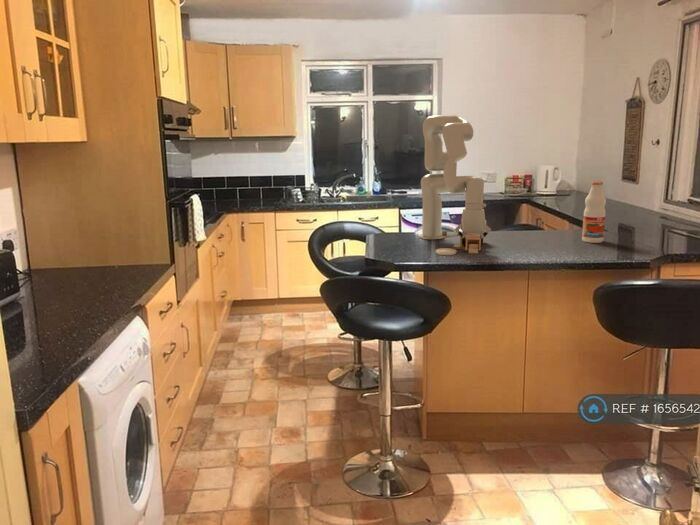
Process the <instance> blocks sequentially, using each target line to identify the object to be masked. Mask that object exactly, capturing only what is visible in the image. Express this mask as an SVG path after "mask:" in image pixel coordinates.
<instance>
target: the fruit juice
mask: <svg viewBox="0 0 700 525" xmlns="http://www.w3.org/2000/svg"><path fill="white" fill-rule="evenodd" d="M590 184H591V187H590V190H589V193H588V194H587V196H586V197H585V200H584V204H585V208H584V210H583V220H582V233H581V241H582V242H584V243H591V244H592V243H593V244H598V243H602V242H603V241H604V238H605V237H604V235H605V226H606V225H605V223H606V208H605V207H606V204H607V198H606V196H605V193H604V190H603V187H602V186H603V184H604V183H603V181H591V183H590Z"/></svg>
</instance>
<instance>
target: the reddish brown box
mask: <svg viewBox="0 0 700 525" xmlns="http://www.w3.org/2000/svg"><path fill="white" fill-rule="evenodd" d="M465 238H466V243H465V247H464V248H465V249H464V250H465V251H468V249H467V247H468V243H478V251H481V248H482V247H481V238H480V236H479V235H466V236H465Z"/></svg>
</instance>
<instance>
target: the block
mask: <svg viewBox="0 0 700 525" xmlns="http://www.w3.org/2000/svg"><path fill="white" fill-rule="evenodd" d="M467 253H468V254H479V249H478V243H468V249H467Z"/></svg>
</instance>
